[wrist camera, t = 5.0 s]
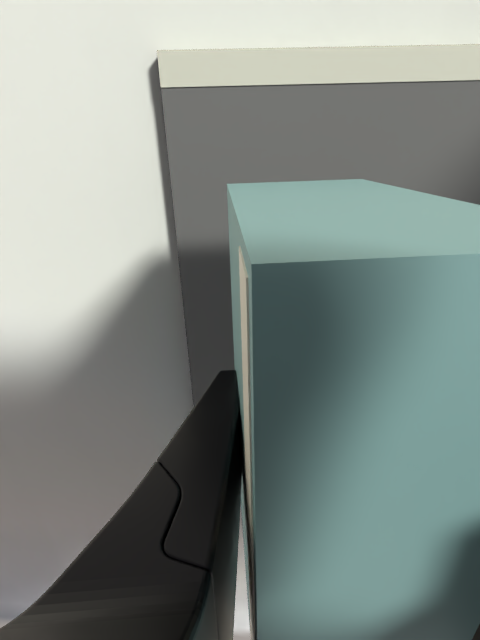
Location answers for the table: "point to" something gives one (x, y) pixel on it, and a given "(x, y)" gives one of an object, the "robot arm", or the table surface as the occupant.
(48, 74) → the table surface
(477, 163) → the mat
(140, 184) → the table surface
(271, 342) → the block
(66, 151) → the table surface
